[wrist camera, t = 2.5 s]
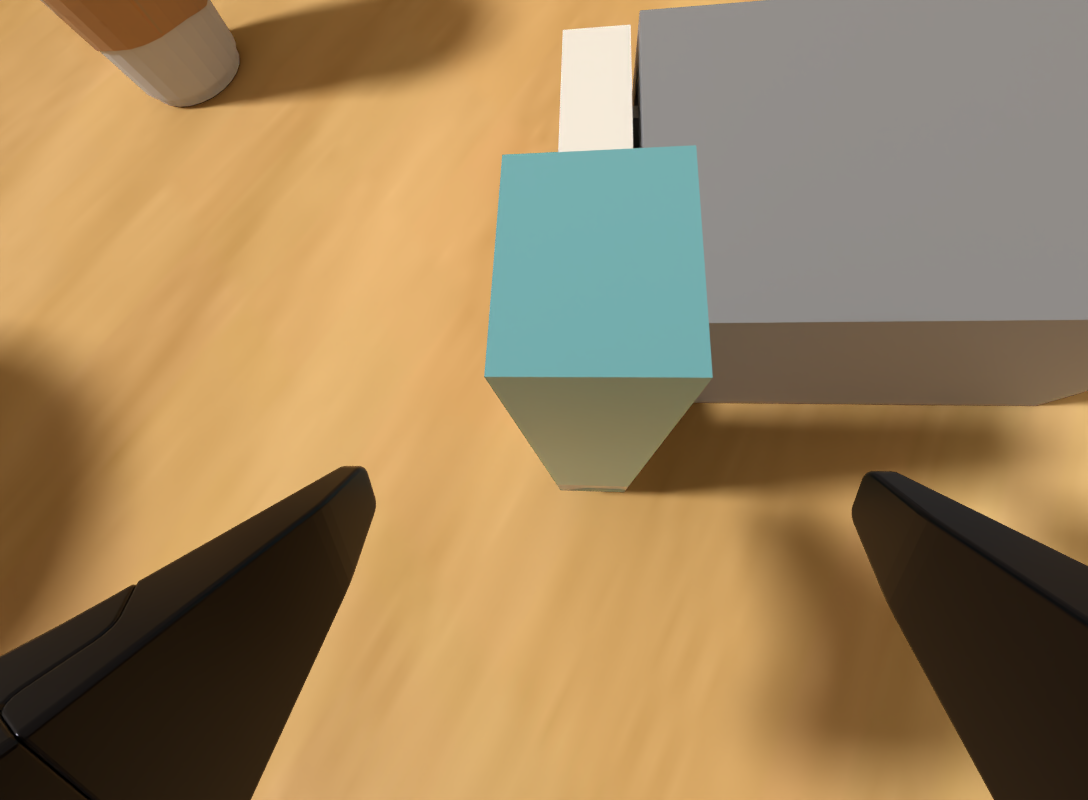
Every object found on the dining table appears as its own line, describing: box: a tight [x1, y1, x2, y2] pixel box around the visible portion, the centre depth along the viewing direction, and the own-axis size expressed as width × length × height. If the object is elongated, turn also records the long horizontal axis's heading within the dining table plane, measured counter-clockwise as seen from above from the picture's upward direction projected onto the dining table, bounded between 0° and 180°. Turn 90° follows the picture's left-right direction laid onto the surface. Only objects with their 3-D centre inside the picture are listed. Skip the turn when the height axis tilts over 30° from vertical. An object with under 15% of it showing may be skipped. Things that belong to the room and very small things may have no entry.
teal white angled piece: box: [484, 25, 713, 492], centre depth 12 cm, size 17×16×13 cm
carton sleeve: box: [632, 0, 1088, 406], centre depth 17 cm, size 16×12×8 cm
